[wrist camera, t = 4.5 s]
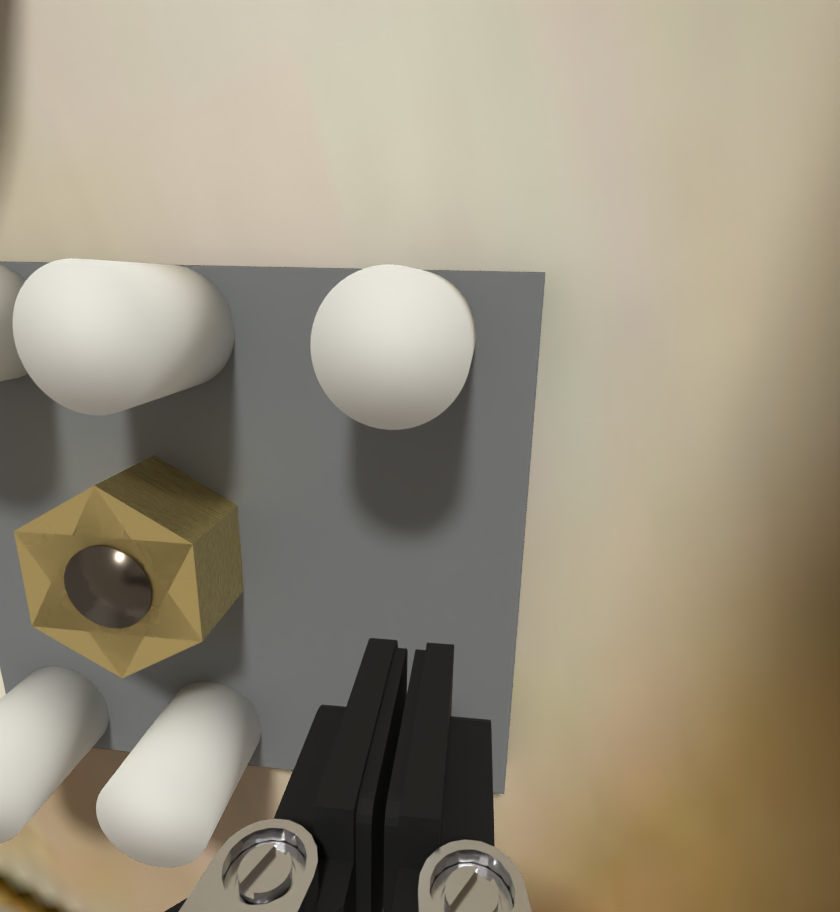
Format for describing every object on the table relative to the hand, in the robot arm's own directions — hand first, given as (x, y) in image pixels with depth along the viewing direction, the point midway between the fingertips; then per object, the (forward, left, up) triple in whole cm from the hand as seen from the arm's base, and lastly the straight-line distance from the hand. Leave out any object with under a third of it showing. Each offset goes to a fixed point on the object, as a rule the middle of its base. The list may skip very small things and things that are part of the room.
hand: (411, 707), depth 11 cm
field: (+9, -1, -6) cm, 10 cm away
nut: (+8, -1, -5) cm, 9 cm away
